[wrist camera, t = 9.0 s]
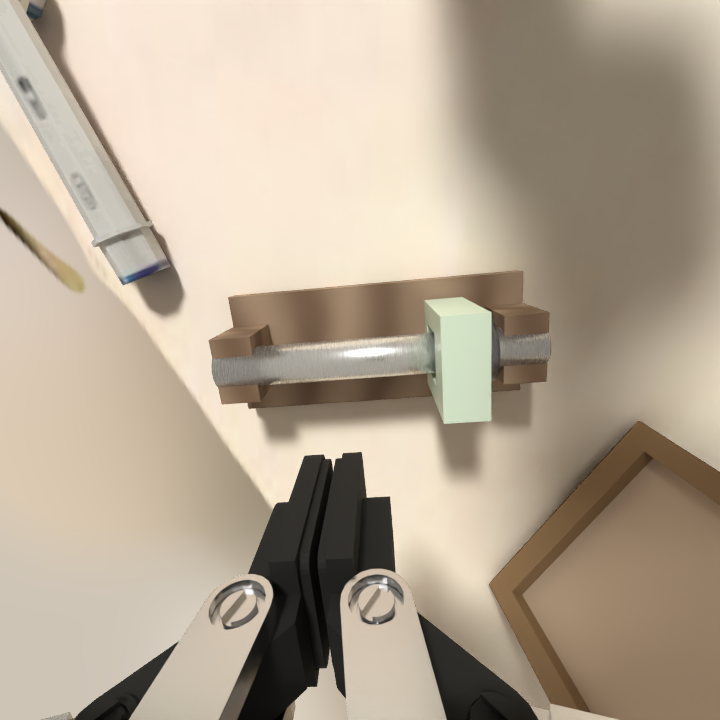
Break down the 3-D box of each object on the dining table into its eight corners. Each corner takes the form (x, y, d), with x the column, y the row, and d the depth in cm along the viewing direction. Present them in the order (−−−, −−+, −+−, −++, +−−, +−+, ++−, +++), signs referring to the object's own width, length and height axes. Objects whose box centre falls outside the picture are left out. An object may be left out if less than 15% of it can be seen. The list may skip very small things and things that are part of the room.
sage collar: (427, 382, 32) (443, 423, 24) (423, 300, 30) (440, 316, 23) (463, 380, 32) (491, 420, 24) (461, 296, 30) (491, 312, 22)
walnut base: (253, 402, 36) (227, 434, 29) (234, 295, 33) (201, 305, 27) (514, 384, 34) (544, 413, 28) (516, 270, 31) (550, 275, 25)
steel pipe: (237, 387, 32) (213, 410, 27) (226, 332, 31) (200, 346, 26) (528, 366, 30) (555, 386, 26) (530, 307, 29) (558, 317, 25)
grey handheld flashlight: (104, 292, 30) (-174, -141, 20) (147, 276, 36) (-52, -63, 26) (162, 269, 29) (-97, -191, 20) (196, 256, 35) (10, -98, 26)
